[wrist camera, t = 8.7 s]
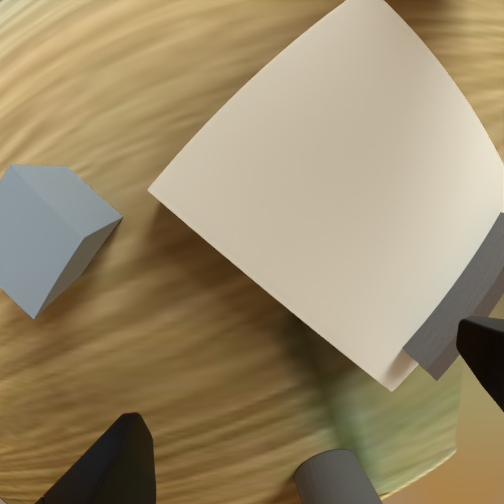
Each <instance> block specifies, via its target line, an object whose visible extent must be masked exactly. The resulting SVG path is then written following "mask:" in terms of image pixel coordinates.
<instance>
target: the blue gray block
mask: <svg viewBox="0 0 504 504" xmlns="http://www.w3.org/2000/svg"><path fill="white" fill-rule="evenodd" d="M122 218H123V216H122V215H121V214H119V213H118V212H117V211H116V210H115V209H114V208H113V207H112V206H110V205H109V204H108V203H107V202H106V201H105V200H104V199H103V198H101V197H100V196H99V195H98V194H97V193H96V192H95V191H94V190H93V189H91V188H90V187H89V186H88V185H87V184H86V183H85V182H84V181H83V180H82V179H81V178H79V177H78V176H77V175H76V174H75V173H74V172H73V171H72V170H71V169H70V168H69V167H68V166H49V165H14V164H10V165H9V167H8V168H7V170H6V172H5V174H4V176H3V177H2V179H1V181H0V288H1V289H2V290H3V291H4V292H5V293H6V294H7V295H8V296H9V297H10V298H11V299H12V300H13V301H14V302H15V303H16V304H18V305H19V306H20V307H21V308H22V309H23V310H24V311H25V312H26V313H27V314H28V315H29V316H30V317H31V318H32V319H35V318H36V317H37V316H38V315H39V314H40V313H41V312H42V311H43V310H44V309H46V308H47V307H48V306H49V305H50V304H51V303H52V302H53V301H54V300H55V299H56V298H57V297H58V296H59V295H60V294H62V293H63V292H64V291H65V290H66V289H67V288H68V287H69V286H70V285H71V284H73V283H74V282H75V281H76V280H77V279H78V278H79V277H80V276H81V275H82V273H83V272H84V270H85V269H86V267H87V266H88V264H89V263H90V261H91V260H92V259H93V257H94V256H95V254H96V253H97V252H98V250H99V249H100V247H101V246H102V245H103V243H104V242H105V240H106V239H107V238H108V236H109V235H110V234H111V232H112V231H113V230H114V228H115V227H116V226H117V224H118V223H119V222H120V220H121V219H122Z"/></svg>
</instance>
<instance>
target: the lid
mask: <svg viewBox="0 0 504 504" xmlns="http://www.w3.org/2000/svg"><path fill="white" fill-rule="evenodd" d="M147 191H149V192H150V193H151V194H152V195H153V196H154V197H156V198H157V199H158V200H159V201H160V202H161V203H163V204H164V205H165V206H166V207H167V208H168V209H169V210H171V211H172V212H173V213H174V214H175V215H176V216H178V217H179V218H180V219H181V220H182V221H183V222H185V223H186V224H187V225H188V226H189V227H191V228H192V229H193V230H194V231H195V232H196V233H198V234H199V235H200V236H201V237H202V238H203V239H205V240H206V241H207V242H208V243H209V244H211V245H212V246H213V247H214V248H215V249H216V250H218V251H219V252H220V253H221V254H222V255H224V256H225V257H226V258H227V259H228V260H230V261H231V262H232V263H233V264H234V265H236V266H237V267H238V268H239V269H240V270H242V271H243V272H244V273H245V274H246V275H248V276H249V277H250V278H251V279H252V280H254V281H255V282H256V283H257V284H258V285H260V286H261V287H262V288H263V289H264V290H266V291H267V292H268V293H269V294H270V295H272V296H273V297H274V298H275V299H276V300H278V301H279V302H280V303H281V304H283V305H284V306H285V307H286V308H287V309H289V310H290V311H291V312H292V313H294V314H295V315H296V316H297V317H298V318H300V319H301V320H302V321H303V322H305V323H306V324H307V325H308V326H310V327H311V328H312V329H313V330H314V331H316V332H317V333H318V334H319V335H321V336H322V337H323V338H324V339H326V340H327V341H328V342H329V343H331V344H332V345H333V346H334V347H336V348H337V349H338V350H339V351H340V352H342V353H343V354H344V355H345V356H347V357H348V358H349V359H350V360H352V361H353V362H354V363H356V364H357V365H358V366H359V367H361V368H362V369H363V370H364V371H366V372H367V373H368V374H369V375H371V376H372V377H373V378H374V379H376V380H377V381H378V382H380V383H381V384H382V385H383V386H385V387H386V388H387V389H388V390H390V391H391V392H392V391H393V390H394V389H395V388H396V387H397V386H398V385H399V384H400V383H401V382H402V381H403V380H404V379H405V378H406V377H407V376H408V375H409V374H410V373H411V372H412V371H413V370H414V368H415V367H416V366H417V365H418V364H419V365H420V366H421V367H422V368H423V369H425V370H426V371H427V372H428V373H429V374H430V375H431V376H432V377H433V378H434V379H435V380H436V381H437V380H438V379H439V378H440V377H441V376H442V375H443V374H444V372H445V371H446V370H447V369H448V368H449V367H450V365H451V364H452V363H453V362H454V361H455V359H456V358H457V357H458V356H459V355H460V353H459V352H458V350H457V348H456V338H457V330H458V323H459V321H460V320H461V319H462V318H465V317H467V316H469V315H475V316H482V317H488V316H489V315H490V313H491V311H492V310H493V309H494V307H495V306H496V304H497V303H498V301H499V300H500V298H501V296H502V295H503V293H504V165H503V163H502V161H501V159H500V157H499V155H498V153H497V151H496V149H495V147H494V145H493V143H492V141H491V140H490V138H489V136H488V134H487V132H486V131H485V129H484V127H483V126H482V124H481V122H480V121H479V119H478V117H477V116H476V114H475V112H474V111H473V109H472V108H471V106H470V104H469V103H468V101H467V100H466V98H465V97H464V95H463V94H462V92H461V91H460V89H459V88H458V87H457V85H456V84H455V82H454V81H453V79H452V78H451V77H450V75H449V74H448V73H447V71H446V70H445V69H444V67H443V66H442V65H441V63H440V62H439V61H438V60H437V58H436V57H435V56H434V55H433V53H432V52H431V51H430V50H429V48H428V47H427V46H426V45H425V44H424V42H423V41H422V40H421V39H420V38H419V37H418V35H417V34H416V33H415V32H414V31H413V30H412V29H411V28H410V26H409V25H408V24H407V23H406V22H405V21H404V20H403V19H402V18H401V17H400V16H399V15H398V14H397V13H396V12H395V11H394V10H393V9H392V8H391V7H390V6H389V5H388V4H387V3H386V2H385V1H384V0H346V1H344V2H343V3H342V4H340V5H339V6H338V7H336V8H335V9H334V10H332V11H331V12H330V13H328V14H327V15H326V16H324V17H323V18H322V19H321V20H319V21H318V22H317V23H315V24H314V25H313V26H312V27H310V28H309V29H308V30H307V31H305V32H304V33H303V34H302V35H300V36H299V37H298V38H297V39H296V40H294V41H293V42H292V43H291V44H290V45H289V46H287V47H286V48H285V49H284V50H283V51H281V52H280V53H279V54H278V55H277V56H276V57H275V58H273V59H272V60H271V61H270V62H269V63H268V64H267V65H266V66H265V67H263V68H262V69H261V70H260V71H259V72H258V73H257V74H256V75H255V76H254V77H253V78H251V79H250V80H249V81H248V82H247V83H246V84H245V85H244V86H243V87H242V88H241V89H240V90H239V91H238V92H237V93H236V94H235V95H234V96H233V97H232V98H231V99H230V100H229V101H228V102H227V103H226V104H225V105H224V106H223V107H222V108H221V109H220V110H219V111H218V112H217V113H216V114H215V115H214V116H213V117H212V118H211V119H210V120H209V121H208V122H207V123H206V124H205V125H204V126H203V127H202V128H201V129H200V130H199V131H198V132H197V134H196V135H195V136H194V137H193V138H192V139H191V140H190V141H189V142H188V143H187V144H186V145H185V147H184V148H183V149H182V150H181V151H180V152H179V153H178V154H177V156H176V157H175V158H174V159H173V160H172V161H171V162H170V163H169V165H168V166H167V167H166V168H165V169H164V170H163V172H162V173H161V174H160V175H159V176H158V177H157V179H156V180H155V181H154V182H153V183H152V185H151V186H150V187H149V188H148V189H147Z"/></svg>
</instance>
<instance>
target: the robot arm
mask: <svg viewBox="0 0 504 504" xmlns="http://www.w3.org/2000/svg"><path fill="white" fill-rule="evenodd" d="M456 348H457V350H458V352H459V353H460V355H461V356H462V358H463V359H464V360H465V362H466V363H467V365H468V366H469V368H470V369H471V370H472V372H473V373H474V375H475V376H476V378H477V379H478V380H479V382H480V383H481V385H482V386H483V387H484V389H485V390H486V391H487V392H488V393H489V395H490V396H491V397H492V398H493V400H494V401H495V402H496V403H497V404H498V406H499V407H500V408H501V409H502V411H503V412H504V319H497V318H489V317H482V316H475V315H469V316H467V317H465V318H462V319H461V320H460V321H459V323H458V330H457V338H456ZM35 504H156V479H155V467H154V451H153V439H152V435H151V433H150V431H149V429H148V428H147V426H146V424H145V422H144V420H143V419H142V417H141V415H140V414H139V413H137V412H132V413H124V414H122V415H121V416H120V417H119V418H118V419H117V420H116V421H115V422H114V423H113V424H112V425H111V426H110V428H109V429H108V430H107V431H106V432H105V433H104V434H103V435H102V436H101V437H100V438H99V439H98V440H97V441H96V442H95V443H94V444H93V445H92V446H91V447H90V448H89V449H88V450H87V451H86V452H85V453H84V454H83V455H82V456H81V458H80V459H79V460H78V461H77V462H76V463H75V464H74V465H73V466H72V467H71V468H70V469H69V470H68V471H67V472H66V473H65V474H64V475H63V476H62V477H61V478H60V479H59V480H58V481H57V482H56V483H55V484H54V485H53V486H52V487H51V488H50V489H49V490H48V491H47V492H46V493H45V494H44V497H41V498H40V499H39V500H38V501H37V502H36V503H35Z"/></svg>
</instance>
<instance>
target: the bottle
mask: <svg viewBox="0 0 504 504" xmlns="http://www.w3.org/2000/svg"><path fill="white" fill-rule="evenodd" d="M295 483H296V486H297V489H298V492H299V495H300V498H301V501H302V504H383V503H382V502H381V500H380V498H379V496H378V494H377V493H376V491H375V489H374V487H373V486H372V484H371V482H370V480H369V478H368V477H367V475H366V473H365V471H364V470H363V468H362V466H361V464H360V463H359V461H358V459H357V457H356V456H355V455H354V453H352V452H351V451H349V450H344V449H337V450H331V451H327V452H323V453H321V454H318V455H316V456H314V457H312V458H310V459H309V460H307V461H306V462H304V463H303V464H302V465H301V466H300V467H299V468H298V469H297V471H296V473H295Z"/></svg>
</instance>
